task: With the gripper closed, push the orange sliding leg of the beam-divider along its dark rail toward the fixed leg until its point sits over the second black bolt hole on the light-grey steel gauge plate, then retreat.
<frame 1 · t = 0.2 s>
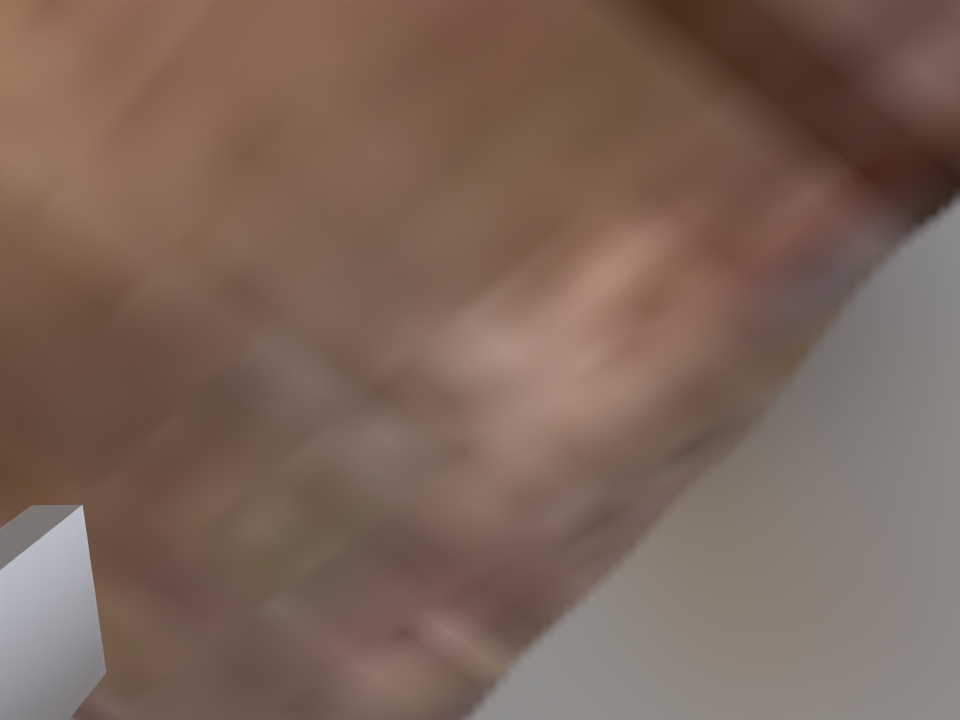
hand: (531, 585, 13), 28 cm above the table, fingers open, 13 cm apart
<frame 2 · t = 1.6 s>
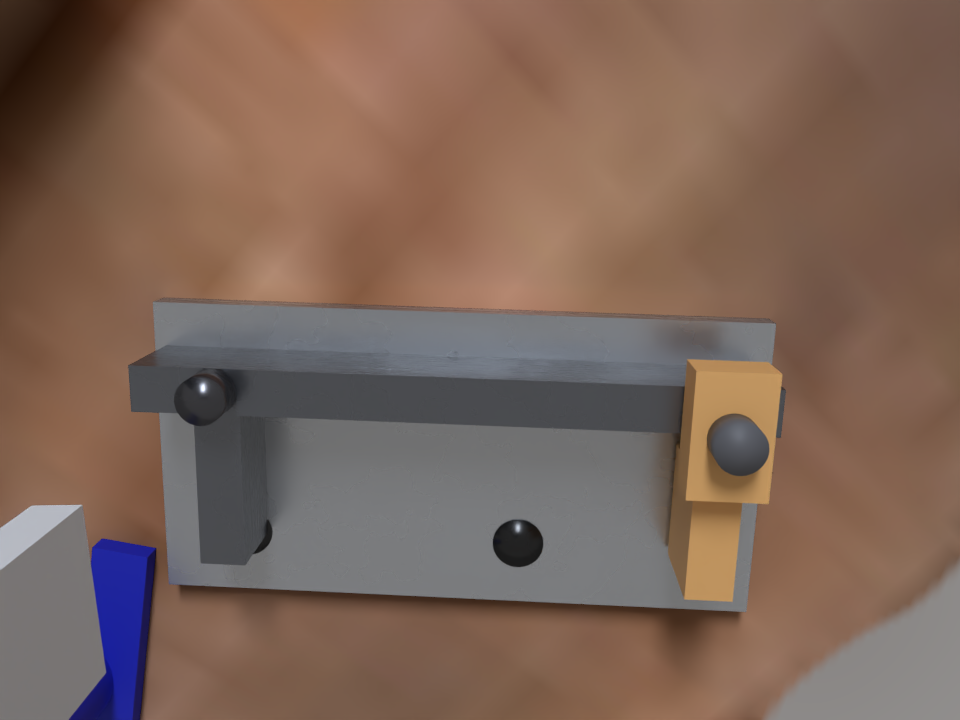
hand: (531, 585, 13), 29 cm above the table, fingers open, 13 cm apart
gauge plate: (458, 452, 43), on the table
sliding leg: (714, 484, 37), point 5 cm above the table, slide at 0.0 cm
mount: (76, 662, 47), on the table
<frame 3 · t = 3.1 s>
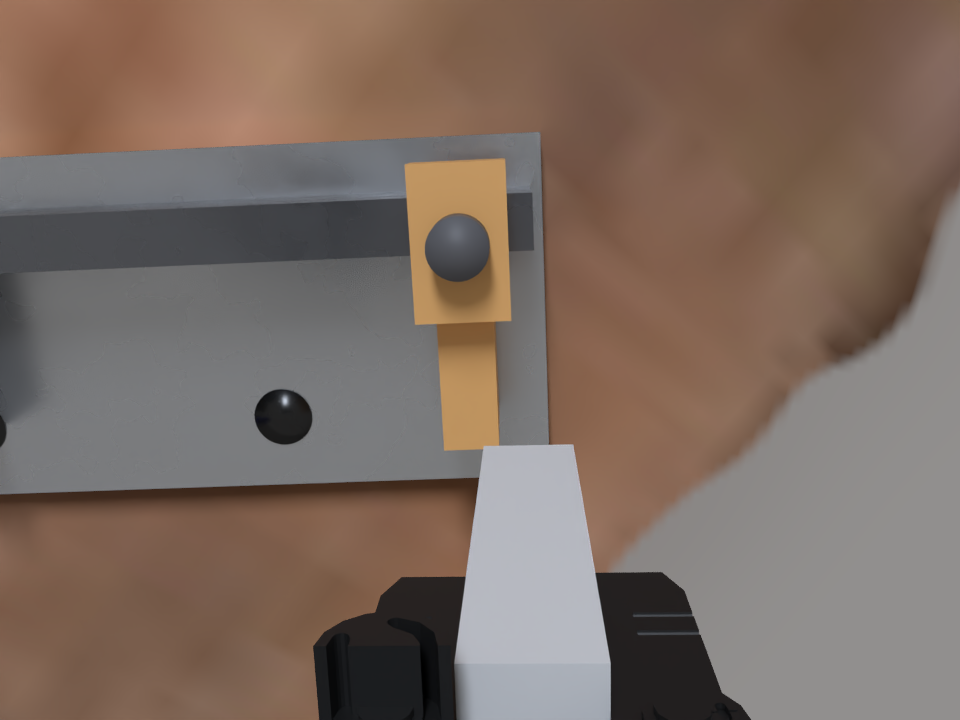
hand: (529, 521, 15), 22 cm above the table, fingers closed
gauge plate: (209, 319, 37), on the table
sliding leg: (465, 313, 32), point 5 cm above the table, slide at 0.0 cm
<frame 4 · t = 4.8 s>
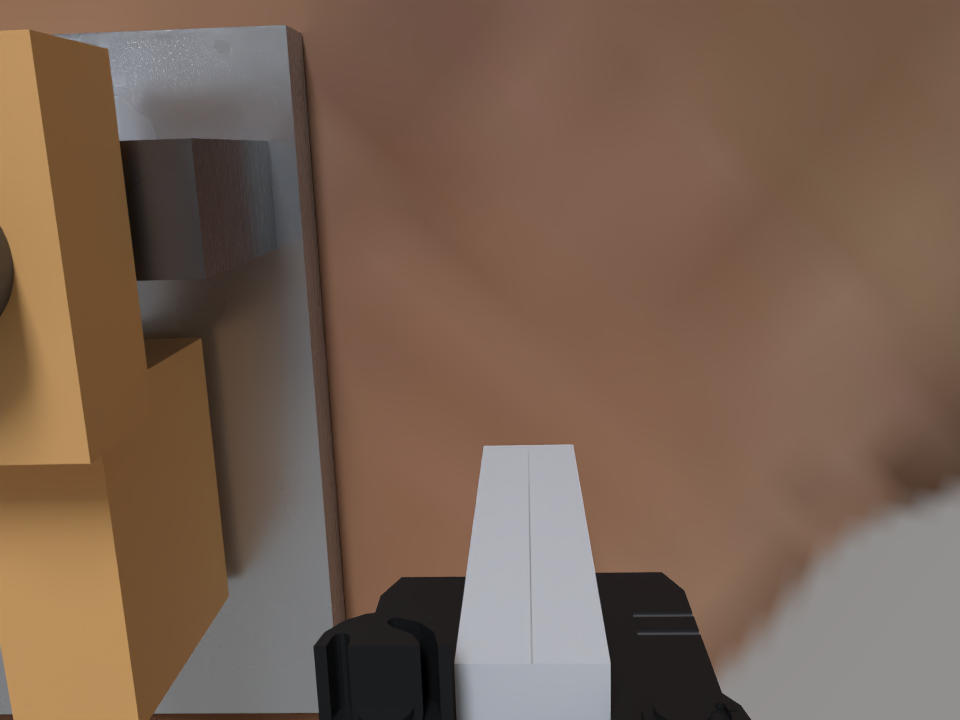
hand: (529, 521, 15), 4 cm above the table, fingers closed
sliding leg: (58, 423, 14), point 5 cm above the table, slide at 0.0 cm
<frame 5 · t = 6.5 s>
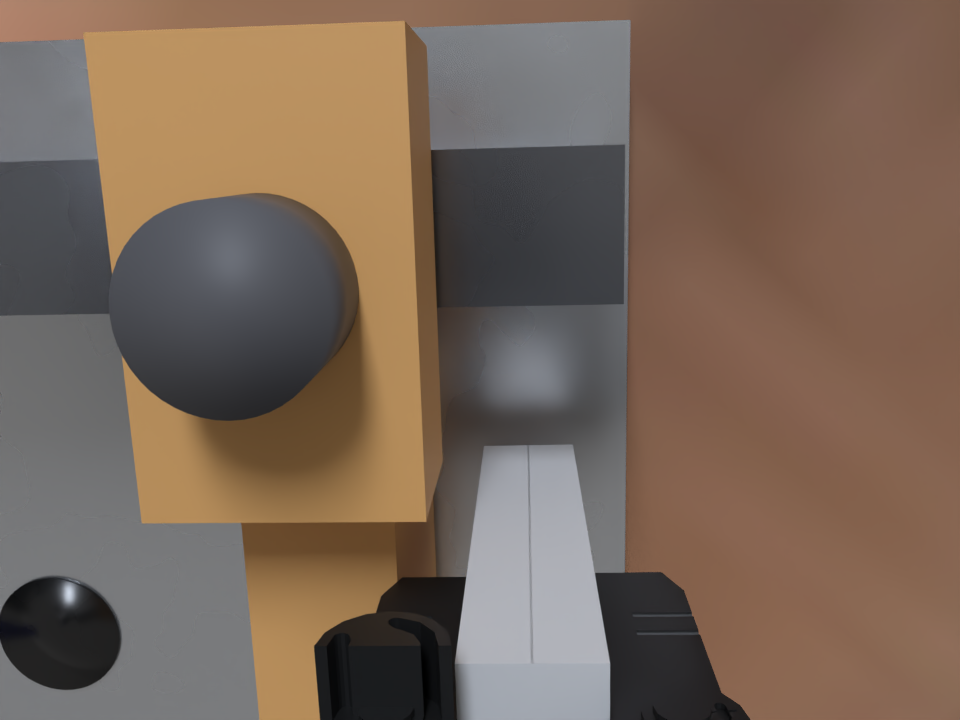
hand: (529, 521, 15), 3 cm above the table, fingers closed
sliding leg: (327, 466, 12), point 5 cm above the table, slide at 1.5 cm, touching gripper
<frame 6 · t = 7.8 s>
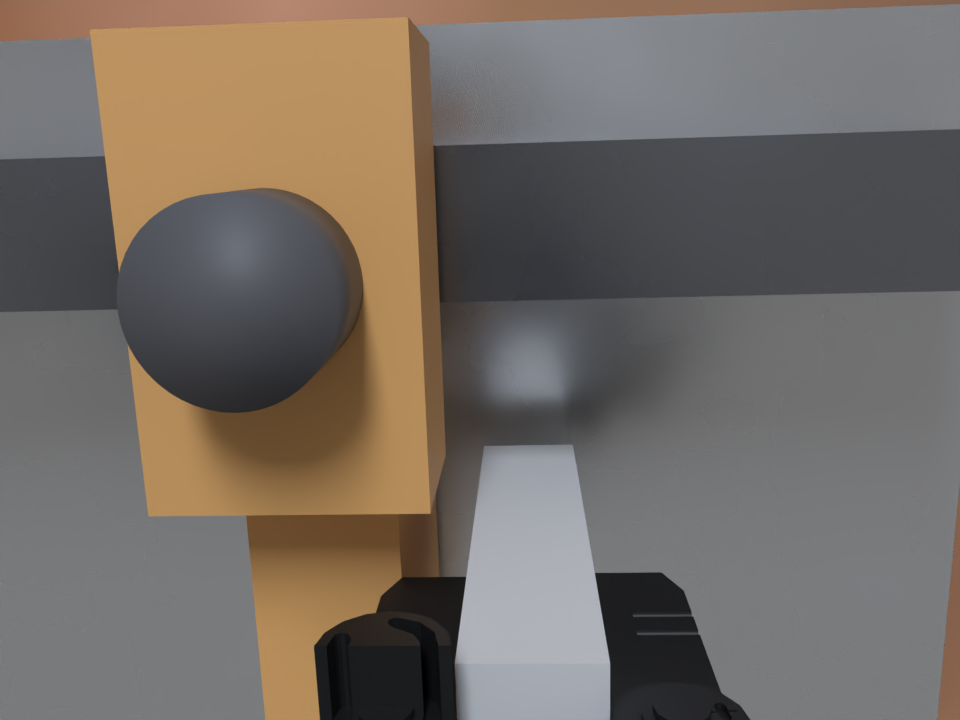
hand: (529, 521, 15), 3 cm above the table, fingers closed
gauge plate: (212, 415, 18), on the table
sliding leg: (331, 460, 12), point 5 cm above the table, slide at 7.4 cm, touching gripper
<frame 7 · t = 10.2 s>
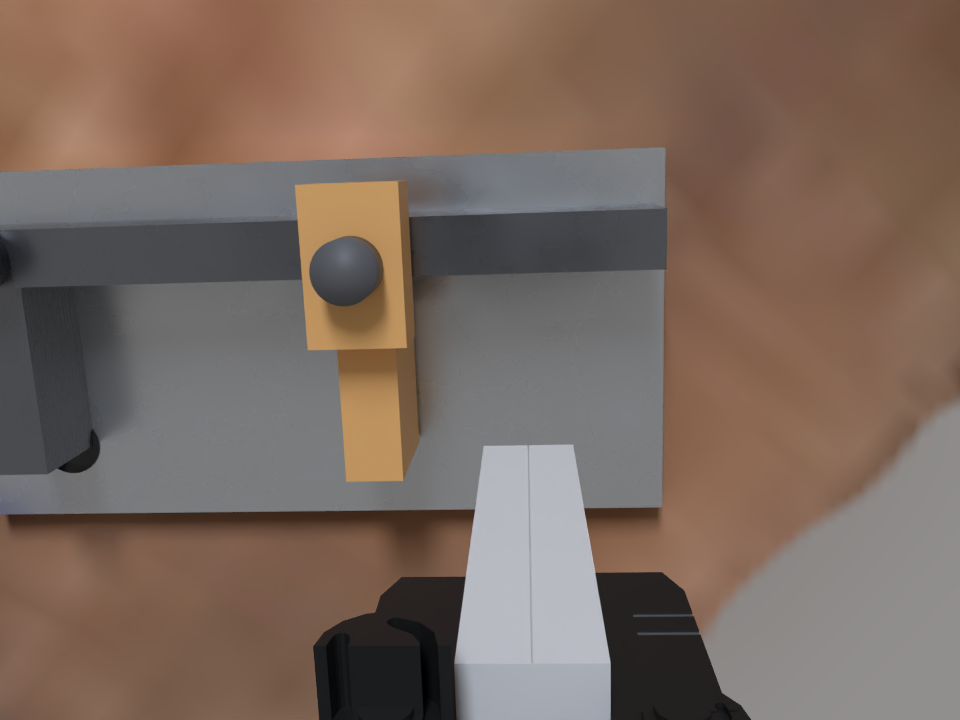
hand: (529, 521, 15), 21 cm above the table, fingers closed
gauge plate: (311, 337, 36), on the table
sliding leg: (370, 340, 31), point 5 cm above the table, slide at 7.6 cm
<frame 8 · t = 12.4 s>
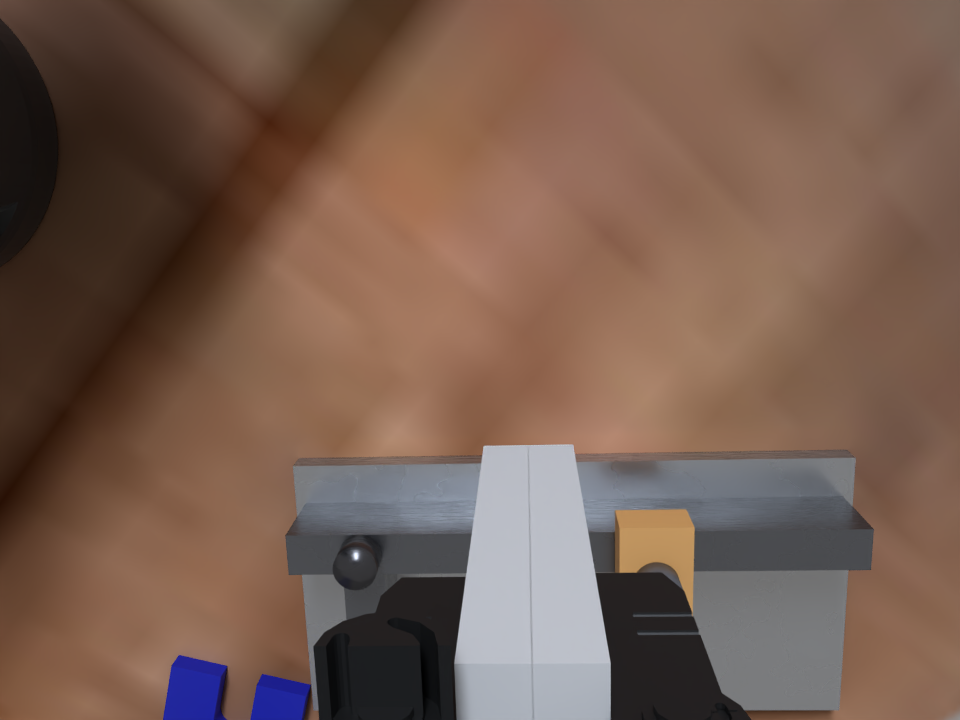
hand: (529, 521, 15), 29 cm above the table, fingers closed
gauge plate: (569, 579, 47), on the table
sliding leg: (648, 614, 42), point 5 cm above the table, slide at 7.6 cm
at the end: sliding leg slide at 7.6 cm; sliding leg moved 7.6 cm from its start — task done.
